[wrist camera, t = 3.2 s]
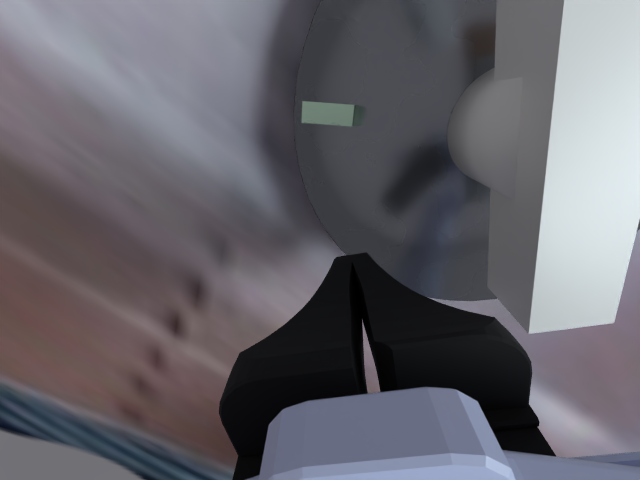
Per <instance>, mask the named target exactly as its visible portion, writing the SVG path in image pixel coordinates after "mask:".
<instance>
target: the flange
mask: <svg viewBox="0 0 640 480" xmlns="http://www.w3.org/2000/svg"><path fill="white" fill-rule="evenodd" d="M496 9H497V0H321V2H320V4H319V6H318V8H317V10H316V13H315V15H314V18H313V21H312V24H311V27H310V30H309V33H308V36H307V39H306V42H305V45H304V48H303V52H302V57H301V62H300V67H299V71H298V76H297V81H296V93H295V104H294V133H295V145H296V152H297V158H298V164H299V169H300V172H301V176H302V179H303V183H304V186H305V190H306V192H307V195H308V197H309V199H310V202H311V204H312V206H313V208H314V211H315V213H316V215H317V216H318V218H319V220H320V221H321V223H322V224H323V226H324V228H325V229H326V231H327V233H328V234H329V235H330V236H331V238H332V239H333V240H334V241H335V242H336V244H337V245H338V246H339V247H340V249H341V250H342V251H343V252H344V253H345V254H347V255H353V254H359V253H365V252H367V253H368V254H369V255H370V256H371V257H372V258H373V260H374V261H375V262H376V263H377V264H378V265H379V266H380V267H381V268H383V269H384V270H385V271H386V272H387V273H388V274H389V275H391V276H392V277H393V278H394V279H396V280H397V281H399V282H400V283H401V284H403V285H404V286H406V287H408V288H410V289H411V290H413V291H415V292H417V293H419V294H421V295H423V296H425V297H429V298H436V299H444V300H454V301H477V300H488V299H497V297H496V296H495V295H494V294H493V293H492V291H491V290H490V289H489V288H488V287H487V281H488V251H489V221H490V190H491V188H489V187H487V186H485V185H483V184H481V183H479V182H477V181H476V180H474V179H472V178H470V177H468V176H467V175H465V174H464V173H463V172H461V171H460V170H459V169H458V167H457V166H456V165H455V163H454V162H453V160H452V158H451V155H450V153H449V149H448V142H447V130H448V124H449V120H450V117H451V114H452V111H453V109H454V107H455V105H456V103H457V101H458V99H459V98H460V97H461V95H462V94H463V92H464V91H465V90H466V89H467V88H468V86H469V85H470V84H471V83H472V82H474V81H475V80H476V79H477V78H478V77H480V76H481V75H482V74H484V73H485V72H487V71H489V70H491V69H493V68H495V40H496ZM639 229H640V220H639V224H638V228H637V231H638V230H639Z"/></svg>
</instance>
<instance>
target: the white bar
mask: <svg viewBox="0 0 640 480" xmlns="http://www.w3.org/2000/svg"><path fill="white" fill-rule="evenodd" d="M447 142H448V149H449V153H450V155H451V158H452V160H453V162H454V163H455V165H456V166H457V167H458V169H459V170H460V171H461V172H463V173H464V174H465V175H467V176H468V177H470V178H472V179H474V180H476V181H477V182H479V183H481V184H483V185H485V186H487V187H489V188H491V190H490V221H489V251H488V281H487V287H488V288H489V289H490V290H491V291H492V293H493V294H494V295H495V296H496V297H497V298H498V299H499V301H500V302H501V303H502V304H503V305H504V306H505V307H506V309H507V310H508V311H509V312H510V313H511V314H512V315H513V317H514V318H515V319H516V320H517V321H518V322H519V323H520V325H521V326H522V327H523V328H524V329H525V330H526V331H527V333H528V334H532V333H540V332H547V331H555V330H563V329H571V328H579V327H586V326H594V325H602V324H610V323H614V321H615V317H616V313H617V309H618V305H619V301H620V297H621V293H622V289H623V285H624V281H625V276H626V272H627V268H628V264H629V260H630V256H631V252H632V248H633V244H634V240H635V236H636V232H637V228H638V224H639V220H640V0H497V9H496V40H495V68H493V69H491V70H489V71H487V72H485V73H484V74H482V75H481V76H480V77H478V78H477V79H476V80H475V81H474V82H472V83H471V84H470V85H469V86H468V88H467V89H466V90H465V91H464V92H463V94H462V95H461V97H460V98H459V99H458V101H457V103H456V105H455V107H454V109H453V111H452V114H451V117H450V120H449V124H448V130H447Z"/></svg>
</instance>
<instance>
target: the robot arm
mask: <svg viewBox="0 0 640 480" xmlns="http://www.w3.org/2000/svg"><path fill="white" fill-rule="evenodd" d="M362 320H363V323H364V327H365V330H366V334H367V337H368V341H369V344H370V348H371V352H372V355H373V359H374V362H375V366H376V370H377V374H378V380H379V385H380V391H381V392H377V393H369V394H368V392H367V386H366V379H365V369H364V351H363V329H362ZM531 378H532V366H531V361H530V359H529V357H528V355H527V353H526V351H525V350H524V349H523V348H522V346H521V345H520V344H519V343H518V341H517V340H516V339H515V338H514V337H513V336H512V335H511V333H510V332H509V331H508V330H507V329H506V328H505V327H504V326H503V325H502V324H501V323H500V322H499V321H498V320H497V319H496V318H495V317H490V316H486V315H481V314H477V313H472V312H468V311H464V310H460V309H457V308H454V307H451V306H448V305H445V304H442V303H439V302H437V301H434V300H432V299H430V298H427V297H425V296H423V295H421V294H419V293H417V292H415V291H413V290H411V289H410V288H408V287H406V286H404V285H403V284H401V283H400V282H399V281H397V280H396V279H394V278H393V277H392V276H391V275H389V274H388V273H387V272H386V271H385V270H384V269H383V268H381V267H380V266H379V265H378V264H377V263H376V262H375V261H374V260H373V258H372V257H371V256H370V255H369V254H368V253H367V252H365V253H359V254H353V255H347V256H341V257H336V258H335V259H334V261H333V264H332V266H331V268H330V270H329V272H328V274H327V275H326V277H325V279H324V281H323V282H322V284H321V285H320V287H319V288H318V290H317V291H316V293H315V294H314V295H313V297H312V298H311V299H310V301H309V302H308V303H307V304H306V305H305V306H304V307H303V308H302V309H301V310H300V311H299V312H298V313H297V314H296V315H295V316H294V317H293V318H291V319H290V320H289V321H288V322H287V323H286V324H285V325H283V326H282V327H281V328H279V329H278V330H277V331H275V332H274V333H272V334H271V335H269V336H268V337H266V338H265V339H263V340H262V341H260V342H258V343H256V344H255V345H253V346H251V347H250V348H248V349H246V350H244V351H242V352H240V354H239V356H238V358H237V360H236V362H235V364H234V366H233V368H232V371H231V373H230V376H229V378H228V381H227V384H226V387H225V389H224V392H223V395H222V398H221V401H220V406H219V415H220V418H221V421H222V424H223V426H224V428H225V430H226V432H227V434H228V436H229V438H230V440H231V442H232V444H233V446H234V448H235V450H236V452H237V454H238V460H237V464H236V468H235V472H234V476H233V480H640V452H630V453H619V454H608V455H597V456H586V457H574V458H563V457H556V455H555V454H554V452H553V450H552V449H551V447H550V446H549V444H548V443H547V441H546V440H545V438H544V437H543V435H542V434H541V432H540V430H539V429H538V427H537V426H539V420H538V417H537V416H536V414H535V413H534V411H533V410H532V408H531V407H530V405H529V396H530V387H531Z"/></svg>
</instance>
